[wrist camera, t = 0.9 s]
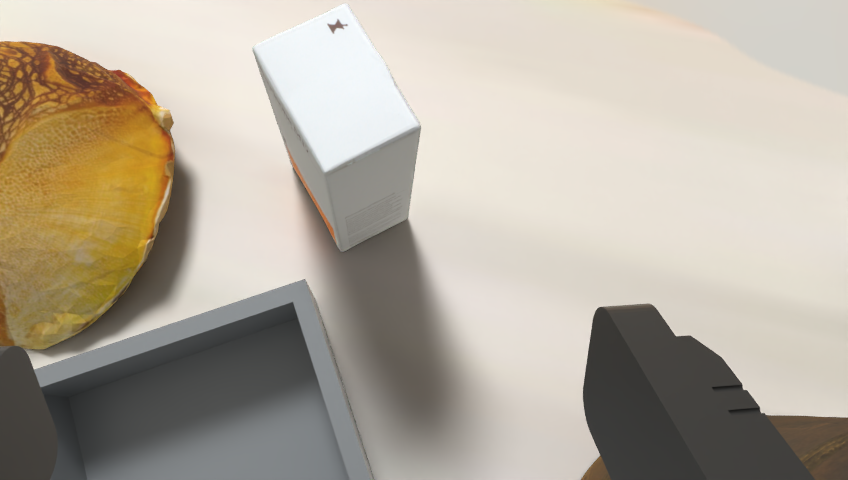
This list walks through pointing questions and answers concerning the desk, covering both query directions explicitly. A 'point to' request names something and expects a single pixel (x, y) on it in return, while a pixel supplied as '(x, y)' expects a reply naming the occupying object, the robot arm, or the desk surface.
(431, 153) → the desk surface
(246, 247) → the desk surface
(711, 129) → the desk surface
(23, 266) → the seashell
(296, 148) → the skincare box
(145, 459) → the box
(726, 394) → the robot arm
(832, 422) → the wooden container
